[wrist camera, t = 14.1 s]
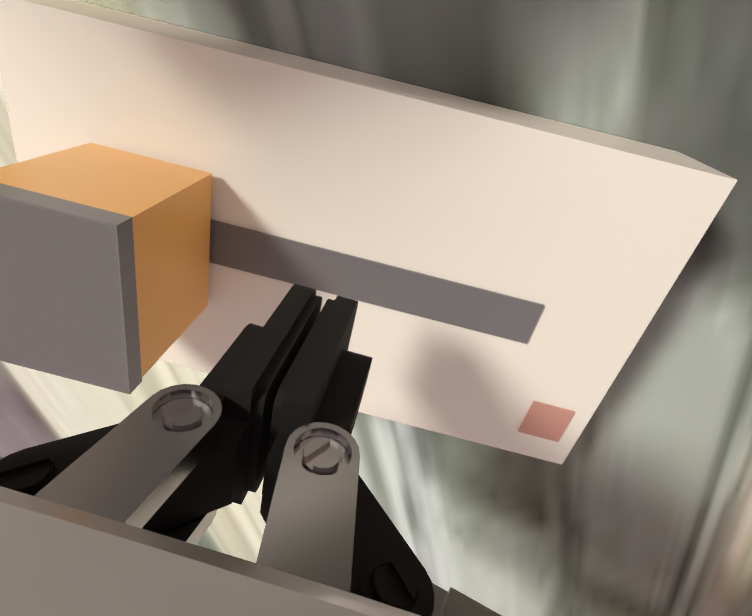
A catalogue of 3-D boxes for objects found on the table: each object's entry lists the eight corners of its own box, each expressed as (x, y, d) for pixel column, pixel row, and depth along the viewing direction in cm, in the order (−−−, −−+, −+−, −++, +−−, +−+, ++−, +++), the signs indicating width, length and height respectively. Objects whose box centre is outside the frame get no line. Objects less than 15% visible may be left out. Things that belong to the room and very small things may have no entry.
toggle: (213, 172, 15) (116, 225, 10) (208, 306, 17) (129, 394, 13) (88, 140, 15) (-60, 180, 11) (102, 279, 17) (-11, 357, 13)
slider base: (677, 151, 17) (739, 181, 13) (544, 400, 23) (562, 466, 19) (81, 1, 17) (-17, -10, 13) (108, 287, 23) (45, 332, 19)
